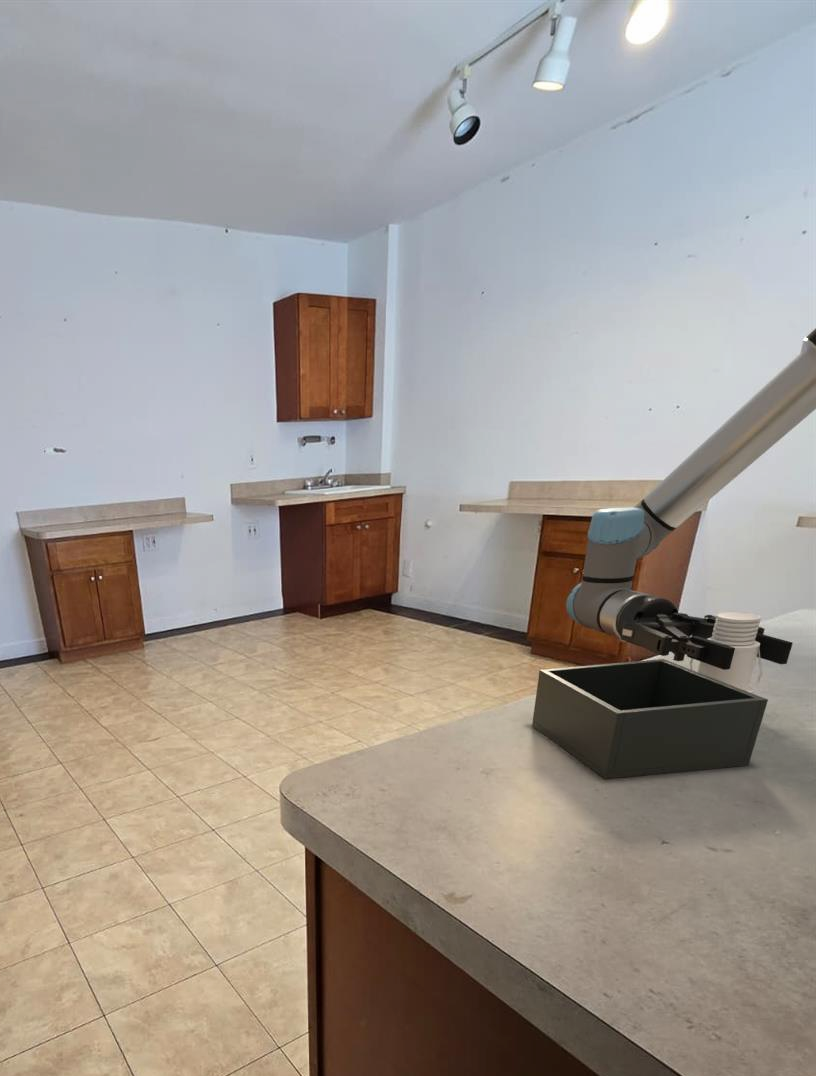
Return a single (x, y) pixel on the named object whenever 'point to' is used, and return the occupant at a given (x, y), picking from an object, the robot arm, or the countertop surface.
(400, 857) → the countertop surface
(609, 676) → the dark grey open box
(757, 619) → the downlight
